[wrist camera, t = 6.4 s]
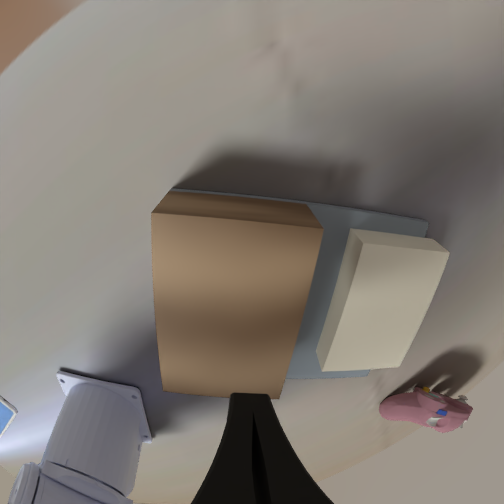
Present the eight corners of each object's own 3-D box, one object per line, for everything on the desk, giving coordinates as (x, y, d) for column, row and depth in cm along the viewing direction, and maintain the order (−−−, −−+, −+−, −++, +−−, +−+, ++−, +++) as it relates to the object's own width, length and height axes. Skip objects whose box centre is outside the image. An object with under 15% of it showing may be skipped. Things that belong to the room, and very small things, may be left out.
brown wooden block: (272, 354, 21) (279, 399, 17) (172, 347, 20) (163, 391, 16) (304, 201, 16) (324, 229, 12) (171, 188, 15) (151, 212, 12)
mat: (365, 371, 22) (367, 376, 22) (173, 366, 21) (172, 371, 20) (425, 220, 17) (429, 223, 16) (171, 188, 15) (169, 190, 15)
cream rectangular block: (321, 371, 18) (315, 350, 20) (399, 366, 19) (389, 348, 21) (363, 243, 14) (350, 228, 16) (450, 253, 15) (433, 239, 17)
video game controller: (443, 384, 27) (486, 404, 20) (425, 419, 27) (465, 443, 20) (393, 369, 25) (445, 396, 18) (371, 411, 24) (417, 445, 18)
